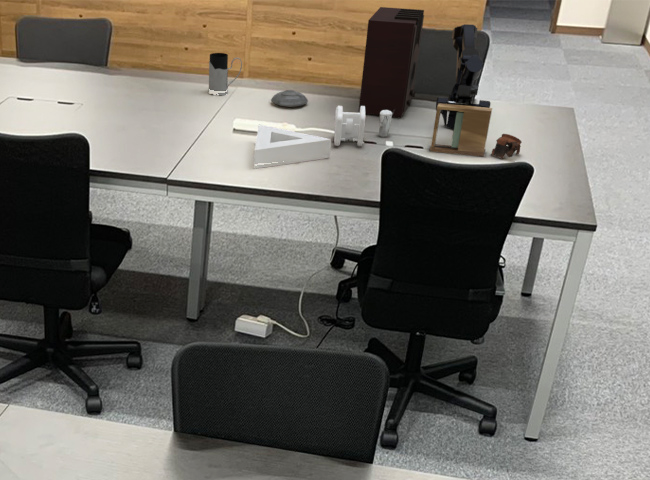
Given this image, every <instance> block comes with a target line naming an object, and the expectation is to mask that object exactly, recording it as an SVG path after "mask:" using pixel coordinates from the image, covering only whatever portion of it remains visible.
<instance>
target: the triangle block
mask: <svg viewBox="0 0 650 480" xmlns="http://www.w3.org/2000/svg"><path fill="white" fill-rule="evenodd" d="M331 147H332V138H326V137H322V136H317V135H312V134H307V133H303V132H298V131H293V130H288V129H283V128H278V127H273V126H269V125H264V124H258V127H257V132H256V139H255V144H254V154H253V169H254V170H256V168H257V169H263V168H268V167H276V166H283V165H289V164H297V163H303V162H310V161H311V162H312V161H316V160H323V159H329V158H330V157H331V149H332V148H331ZM283 161H284V162H283ZM272 162H278V163H272ZM258 163H271V164H264V165H257V166H254V164H258ZM254 167H255V168H254Z"/></svg>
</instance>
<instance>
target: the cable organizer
mask: <svg viewBox="0 0 650 480" xmlns="http://www.w3.org/2000/svg"><path fill="white" fill-rule="evenodd" d="M334 116H335V117H334V129H333V130H334V132H333V136H334V137H333V139H334V141H333V144H334V146H336V147H338V146H340V145H341V141H344V143H345V142H346V140H352V142H357V146H358V147H359V148H360V147H362V146H363V142H364V136H365V135H364V134H365V126H366V115H365V106H361V107H360V113H358V112H351V111H344V106H343V105H337V106H336V107H335V115H334Z"/></svg>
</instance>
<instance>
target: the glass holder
mask: <svg viewBox="0 0 650 480" xmlns="http://www.w3.org/2000/svg"><path fill="white" fill-rule="evenodd" d="M235 60H239V61H240V69H239V72H238V74H237V75H236V76H235V77H234V78H233V79H232V80H231V81H230V82H229V83H228V80H229V79H228V77H229V75H228V74H229V70H230V69H232V68H233V63H234V61H235ZM228 62H229V54H227V53H225V52H213V53H210V54H209V60H208V90H209V89H210V90H214V91H226V90H227V92H225V93H218V94H219V95H223V96H227V95H229V90H228V89H229V86H230V85H231V84H232V83H233V82H234V81H235V80H236V79H237V78H238V77H239V76H240V74H241V71H242V69H243V61H242V59H241V58H240V57H234V58H233V59H232V60H231V63H230V67H228V66H229V65H228ZM226 94H227V95H226ZM216 95H217V94H216Z"/></svg>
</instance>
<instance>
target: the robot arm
mask: <svg viewBox="0 0 650 480" xmlns="http://www.w3.org/2000/svg"><path fill="white" fill-rule="evenodd" d="M477 36H478V27H476V25H474V24H469V23H467V24H465V23H463V24H461V25H459V26H455V27H454V28H453V29H452V34H451V40H452V43H453V44H452V45H453V48H454V50H455V51H456V53H457V54H456V70H455V84H454V86H453V88H452V90H451V93H450V94H449V96H437V98H436V101H435V111H437V106H438V104H439V103H442V104H453V105H464V106H475V107H486V108H491V105H492V103H491V101H490V100H484V99H483V100H482V99H479V102H478V103H474V102H475V99H474V96H478V92H479V87H480V85H479V84H477V82H478V79H479V77H480V75H481V72H482V69H483V68H484V65H485V64H484V62H483V59H482V57H481V55H480V54H481V53H480V51H479V50H477V48H476V40H477ZM456 114H457V111H452V110H441V112H440V115H441V116H442V119H443V127H444V128H448V129H450V130H451V129H452V130H454V126H455V120H456Z"/></svg>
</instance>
